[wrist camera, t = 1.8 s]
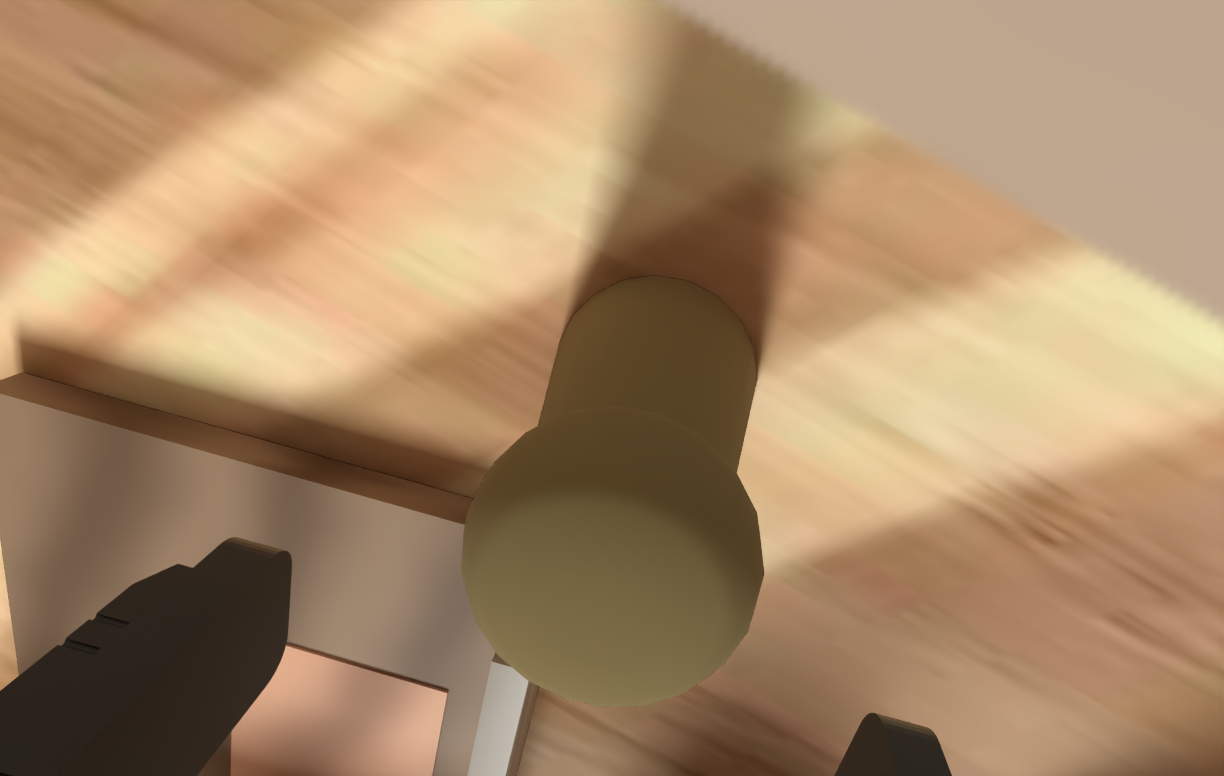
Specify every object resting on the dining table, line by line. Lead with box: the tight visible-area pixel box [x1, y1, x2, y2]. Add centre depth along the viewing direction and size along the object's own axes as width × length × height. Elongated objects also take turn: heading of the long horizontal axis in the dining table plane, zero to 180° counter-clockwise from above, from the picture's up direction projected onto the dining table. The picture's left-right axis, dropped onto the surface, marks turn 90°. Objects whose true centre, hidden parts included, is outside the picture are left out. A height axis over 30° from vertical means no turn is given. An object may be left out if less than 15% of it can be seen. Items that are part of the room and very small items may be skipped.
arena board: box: [0, 372, 539, 776], centre depth 24 cm, size 20×18×6 cm
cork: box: [461, 275, 764, 707], centre depth 16 cm, size 6×6×11 cm
